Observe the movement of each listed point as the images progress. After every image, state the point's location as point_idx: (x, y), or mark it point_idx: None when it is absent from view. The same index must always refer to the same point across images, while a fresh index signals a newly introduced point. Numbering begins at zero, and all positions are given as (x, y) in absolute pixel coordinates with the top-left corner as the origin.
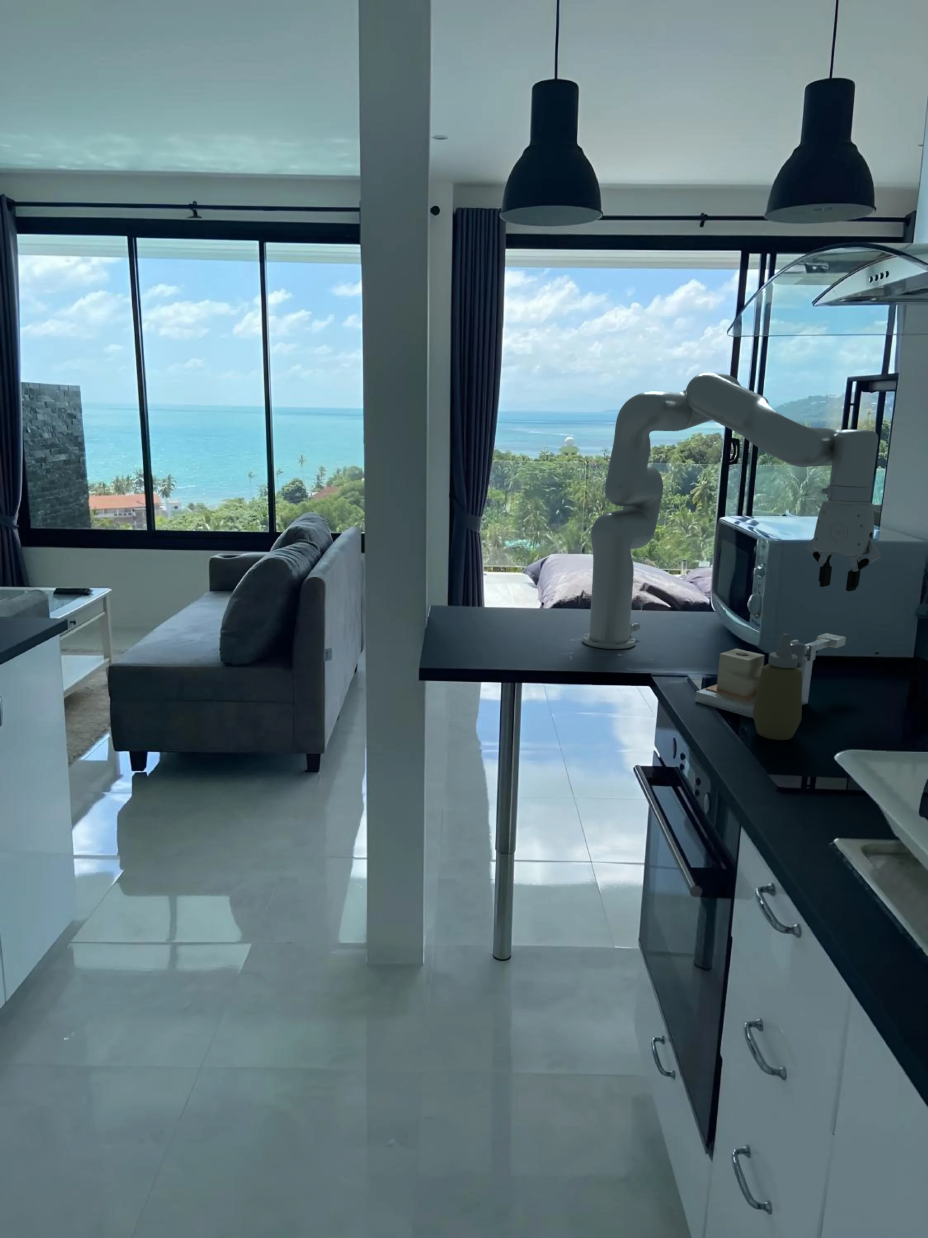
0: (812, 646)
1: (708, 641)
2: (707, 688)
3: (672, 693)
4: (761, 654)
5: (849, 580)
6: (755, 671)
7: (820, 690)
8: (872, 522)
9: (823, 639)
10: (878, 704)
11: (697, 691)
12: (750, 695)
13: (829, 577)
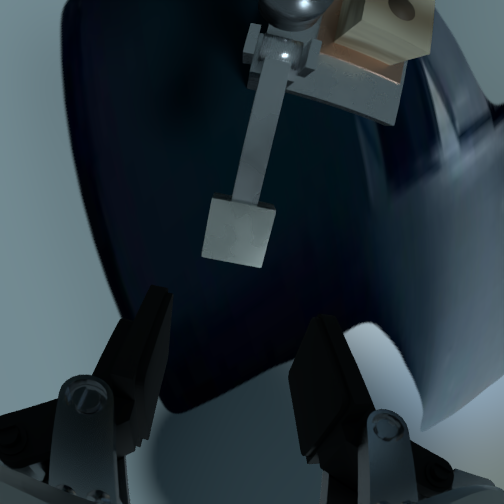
0: (249, 28)
1: (439, 346)
2: None
3: (444, 34)
4: (369, 23)
5: (139, 322)
6: (354, 3)
7: None
8: None
9: (252, 192)
10: (135, 175)
11: None
12: (337, 2)
13: (299, 395)
